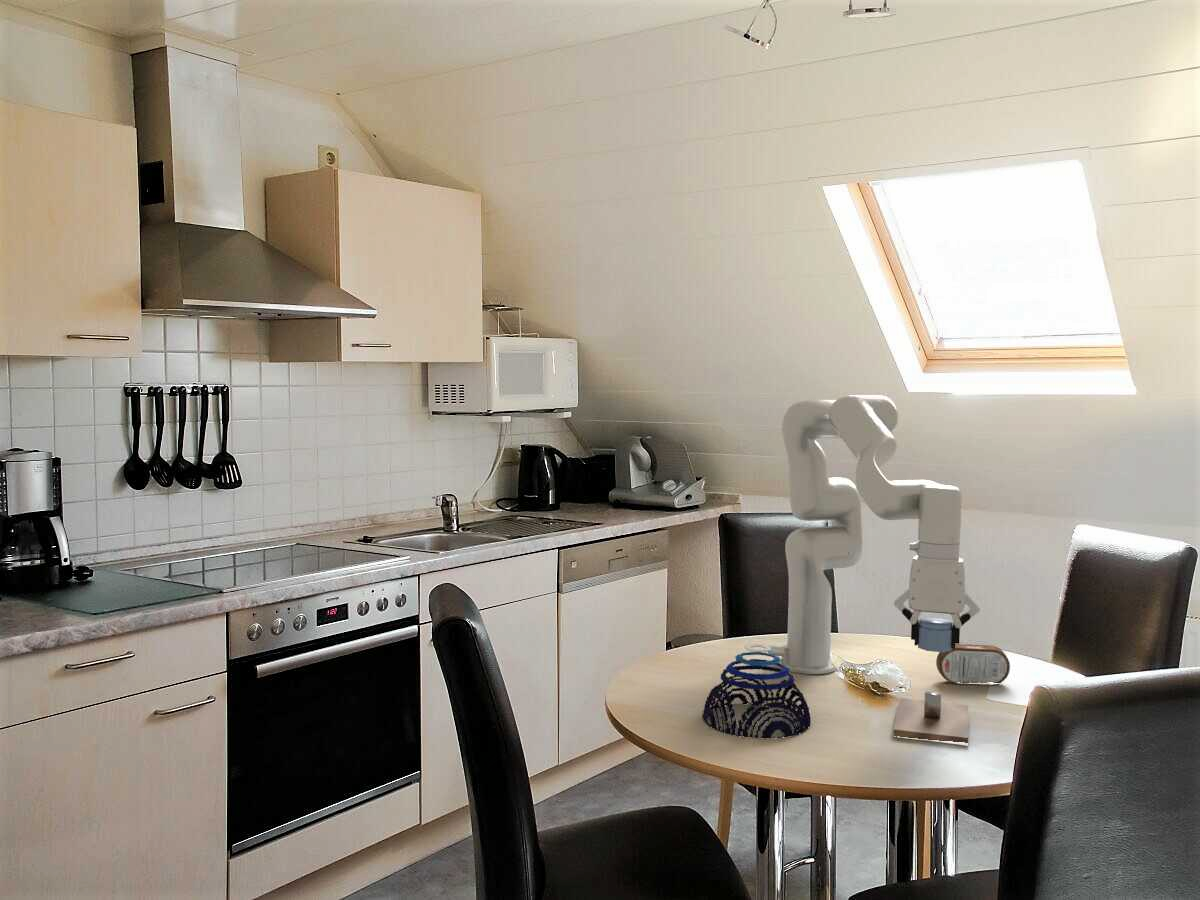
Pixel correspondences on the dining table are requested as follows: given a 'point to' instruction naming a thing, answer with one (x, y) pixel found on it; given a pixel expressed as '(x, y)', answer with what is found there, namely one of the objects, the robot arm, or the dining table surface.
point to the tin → (973, 664)
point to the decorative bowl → (774, 725)
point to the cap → (935, 634)
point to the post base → (931, 722)
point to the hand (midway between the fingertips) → (934, 644)
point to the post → (932, 705)
